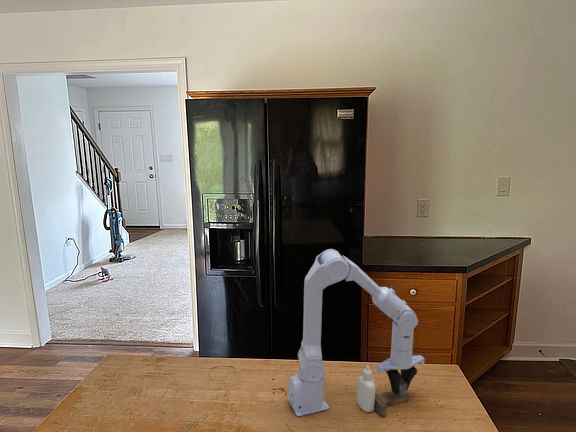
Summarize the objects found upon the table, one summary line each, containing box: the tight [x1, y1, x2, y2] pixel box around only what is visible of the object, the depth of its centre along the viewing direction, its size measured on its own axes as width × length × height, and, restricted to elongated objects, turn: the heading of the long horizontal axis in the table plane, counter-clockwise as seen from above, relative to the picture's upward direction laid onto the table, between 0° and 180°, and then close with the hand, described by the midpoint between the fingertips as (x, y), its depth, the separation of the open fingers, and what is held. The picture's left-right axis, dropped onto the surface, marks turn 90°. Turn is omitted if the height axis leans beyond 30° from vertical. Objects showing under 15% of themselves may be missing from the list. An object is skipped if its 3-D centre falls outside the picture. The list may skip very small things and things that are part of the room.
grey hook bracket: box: [374, 378, 409, 418], centre depth 109 cm, size 11×11×5 cm
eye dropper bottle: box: [356, 365, 376, 413], centre depth 106 cm, size 4×6×12 cm
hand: (399, 390), depth 110 cm, fingers open, 3 cm apart
